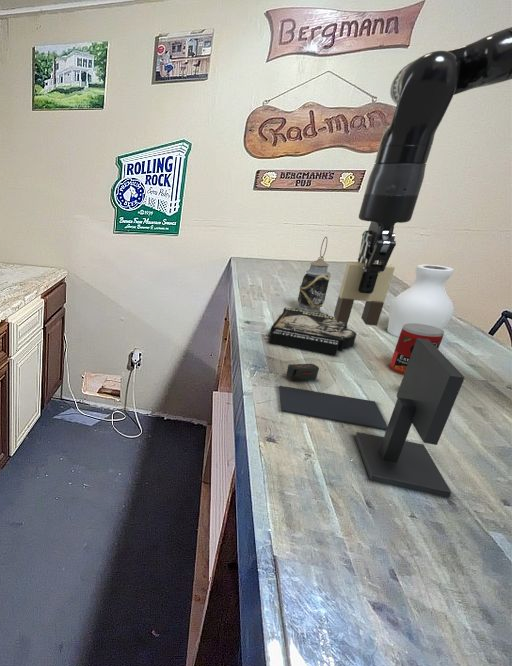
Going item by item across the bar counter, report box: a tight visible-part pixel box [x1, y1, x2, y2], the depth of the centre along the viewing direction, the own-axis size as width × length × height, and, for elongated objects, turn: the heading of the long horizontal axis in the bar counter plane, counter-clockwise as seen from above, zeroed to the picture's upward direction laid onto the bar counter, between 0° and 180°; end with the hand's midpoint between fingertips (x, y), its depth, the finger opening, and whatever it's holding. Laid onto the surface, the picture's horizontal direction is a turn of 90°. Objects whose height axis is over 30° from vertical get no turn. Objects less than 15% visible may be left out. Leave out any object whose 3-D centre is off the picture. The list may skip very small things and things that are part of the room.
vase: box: [386, 264, 455, 338], centre depth 131 cm, size 14×14×20 cm
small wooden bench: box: [333, 261, 395, 327], centre depth 85 cm, size 7×4×11 cm, turn 65°
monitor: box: [354, 338, 466, 499], centre depth 73 cm, size 10×16×20 cm, turn 155°
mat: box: [279, 385, 388, 432], centre depth 95 cm, size 18×12×1 cm, turn 65°
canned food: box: [389, 323, 445, 376], centre depth 109 cm, size 8×8×11 cm
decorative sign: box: [268, 307, 357, 357], centre depth 134 cm, size 21×3×30 cm
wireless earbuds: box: [285, 363, 320, 382], centre depth 108 cm, size 5×7×3 cm, turn 95°
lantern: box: [297, 236, 332, 313], centre depth 152 cm, size 9×8×25 cm
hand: (363, 290), depth 85 cm, fingers closed on small wooden bench, 3 cm apart
